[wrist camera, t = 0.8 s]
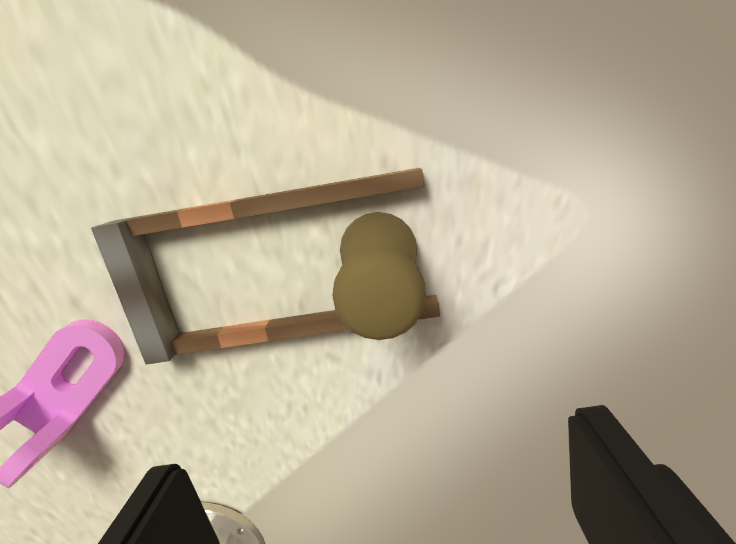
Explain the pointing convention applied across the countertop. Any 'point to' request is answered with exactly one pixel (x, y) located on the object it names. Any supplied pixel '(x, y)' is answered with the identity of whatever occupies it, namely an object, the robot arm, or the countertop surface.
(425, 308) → the guide channel
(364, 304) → the cork
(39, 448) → the bracket
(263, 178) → the countertop surface
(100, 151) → the countertop surface
